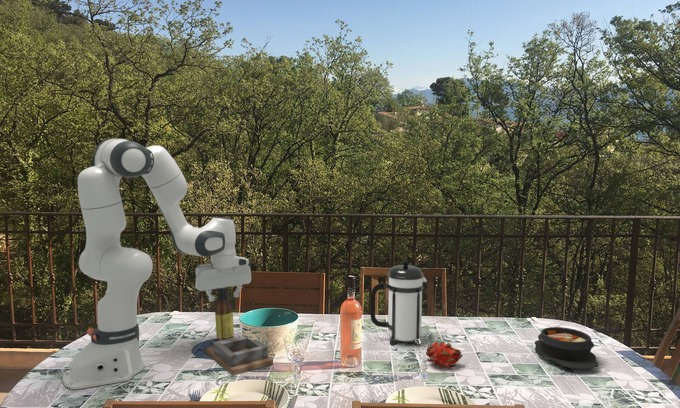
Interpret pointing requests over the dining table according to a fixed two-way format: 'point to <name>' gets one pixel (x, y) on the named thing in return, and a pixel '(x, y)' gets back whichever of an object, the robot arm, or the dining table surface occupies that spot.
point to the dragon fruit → (443, 354)
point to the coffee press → (402, 303)
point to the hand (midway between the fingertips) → (224, 299)
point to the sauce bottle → (224, 316)
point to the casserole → (566, 347)
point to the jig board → (241, 367)
